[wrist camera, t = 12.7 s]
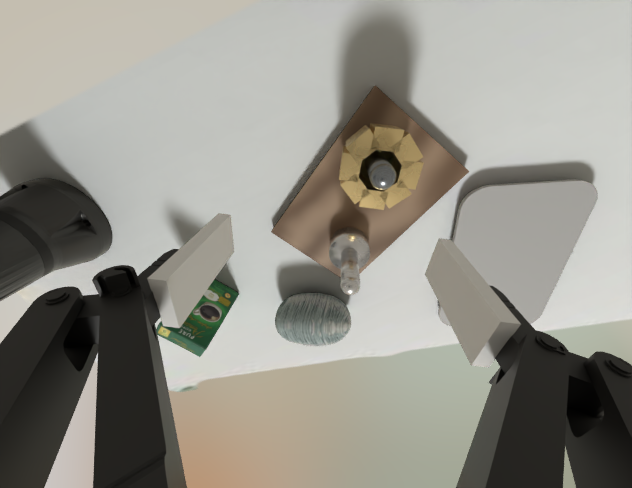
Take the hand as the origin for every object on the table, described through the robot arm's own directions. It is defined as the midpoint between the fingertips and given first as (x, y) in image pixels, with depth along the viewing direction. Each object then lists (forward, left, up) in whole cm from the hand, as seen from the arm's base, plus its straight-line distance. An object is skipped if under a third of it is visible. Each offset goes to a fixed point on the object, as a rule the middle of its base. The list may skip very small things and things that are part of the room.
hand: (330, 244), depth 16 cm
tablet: (+29, +4, -22) cm, 37 cm away
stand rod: (+8, -8, -20) cm, 23 cm away
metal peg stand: (+2, +4, -20) cm, 21 cm away
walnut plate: (+5, -2, -22) cm, 22 cm away
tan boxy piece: (+2, +4, -17) cm, 18 cm away
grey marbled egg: (+12, -23, -22) cm, 34 cm away
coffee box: (-5, -32, -22) cm, 39 cm away
